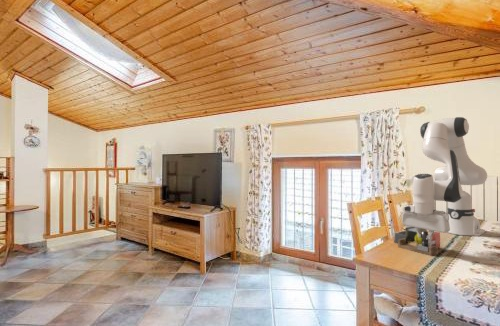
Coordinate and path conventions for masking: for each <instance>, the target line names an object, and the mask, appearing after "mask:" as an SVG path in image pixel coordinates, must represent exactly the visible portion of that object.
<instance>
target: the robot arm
mask: <svg viewBox="0 0 500 326" xmlns="http://www.w3.org/2000/svg"><path fill="white" fill-rule="evenodd" d="M419 130H420V136H421V138H422V146H421V148H422V149H421V150H422V152H423V154H424V155H425V156H426V157H427V158H428V159H431V160H433V161H437V162H440V163H442V164H445V165H446V166H439V167H437V168H436V169H435V170H434V171H433V175H432V174H430V173H418V174H415V175H414V177H413V179H412V194H413V200H412V204H409V205H405V206H403V207H402V211H403V212H402V213H401V224H402V225H403V226H411V227H415V230H416V232H417V233H418V237H420V238H422V233H421V231H420V229H426V230H427V231H428V235H427V239H429V240H432V235H433V234H434V232H440V233H443V234H447V233H448V234H452V235H460V236H475V237H481V236H482V235H483V234H484V233H486V229H482V228H481V222H480V220H479V219H477V217H476V216H475V214H474V213H476V209H475V208H473V204H472V200H473V199H472V196H471V195H470V193H469V192H467V191H465V190H463V188H462V187H463V186H477V185H478V186H479V185H483V184H485V182H486V181H487V179H488V173H487V171H486V170H485V168H483V167H482V166H479V164H476V163H475V162H474V161H473V160H472V159H471V158H470V157H469V154H468V152H467V148H466V144H465V140H464V136H466V135H468V133H469V130H470V125H469V123H468V120H467V118H465V117H462V116H461V117H460V116H457V117H449V118H441V119H439V120H433V121H427V122H424V123H423V124H422V125H421V126H420V129H419ZM436 201H438V202H440V201H441V202H447V205H448V206H447V210H446V211H443V210H436Z"/></svg>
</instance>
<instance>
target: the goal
mask: <svg viewBox="0 0 500 326" xmlns="http://www.w3.org/2000/svg"><path fill="white" fill-rule="evenodd" d="M404 228H405V230H400V231H397V232H394V233H393V243H394V244H398V240H399V239H403V238H405V239H406V244H409V241H412V242H416V241H415V235H416V234H417V232H414V231H410V230H409V229H413V228H415V227H407V228H406V227H404Z"/></svg>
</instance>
